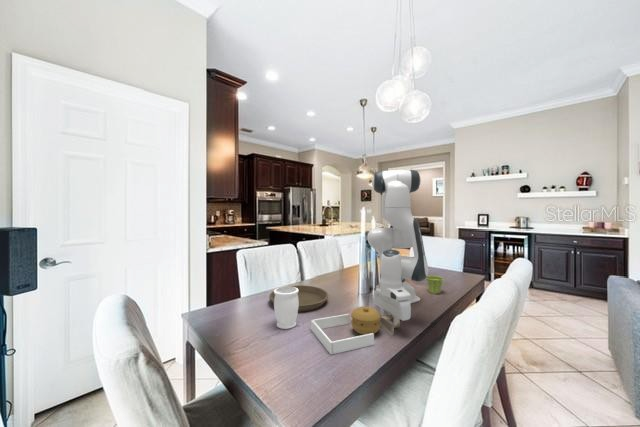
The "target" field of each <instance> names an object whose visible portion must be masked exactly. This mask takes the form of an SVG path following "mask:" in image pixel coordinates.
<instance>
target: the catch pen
mask: <svg viewBox="0 0 640 427" xmlns="http://www.w3.org/2000/svg"><path fill="white" fill-rule="evenodd" d="M310 322H311V323H310V330H311V331H312V333H313V334H314V336H315V337H316V338H317V339H318V341H319V342H320V343H321V345H322V346H323V347H324V348H325V350H326V351H327V352H328V353H329V354H330V355H337V354H340V353H341V354H342V353H345V352H348V351H352V350H357V349H362V348H367V347H371V346H374V345H375V334H373V333H370V334H366V335H363V334H360V335H357V336H352V337H348V338H342V339H337V340H331V339H330V338H329V337H328V335H327V334H326V333H325V332H324V331H323V330H324V329H327V328H333V327H339V326H344V325H349V324H350V313H345V314H340V315H333V316H328V317H321V318H316V319H311V320H310Z"/></svg>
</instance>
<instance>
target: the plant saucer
mask: <svg viewBox="0 0 640 427" xmlns="http://www.w3.org/2000/svg"><path fill="white" fill-rule="evenodd" d="M287 287H296V288H298V293H297V294H298V300H299V307H298V313H299V312H300V313H301V312H309V311H312V310H317V309H319V308H320V307H322V306H323V305H324V304H325V302H327V300H328V298H329V293H328V291H326V290H325V289H323V288H321V287H316V286H312V285H303V284H302V285H288V286H287ZM268 298H269V301H271V303H272V304H273V305H274V298H275V294H274V290H273V291H272V292H270V293H269V296H268Z"/></svg>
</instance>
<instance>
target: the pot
mask: <svg viewBox="0 0 640 427" xmlns="http://www.w3.org/2000/svg"><path fill="white" fill-rule="evenodd" d="M381 315H382V314H381V313H380V312H379V311H378V310H377V309H376V308H374V307H370V306H359V307H356V308H354V310H352V312H351V315H350V316H351V318H352V319H351V321H350V322H351V327H352V328H353V329H354V331H355V332H356V333H357V334H359V335H366V334H370V333H373V334H374V335H375V334H377V332H379V330H380V328H381V327H380V326H381V323H380V321H379V320H380V319H381Z"/></svg>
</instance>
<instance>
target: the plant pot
mask: <svg viewBox="0 0 640 427" xmlns="http://www.w3.org/2000/svg"><path fill="white" fill-rule="evenodd" d="M443 281H444V278H443V277H441V276H437V275H428V276H427V278H426V282H427V286H428V292H429V293H430V294H433V295H438V294H441V292H442V285H443Z"/></svg>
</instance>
